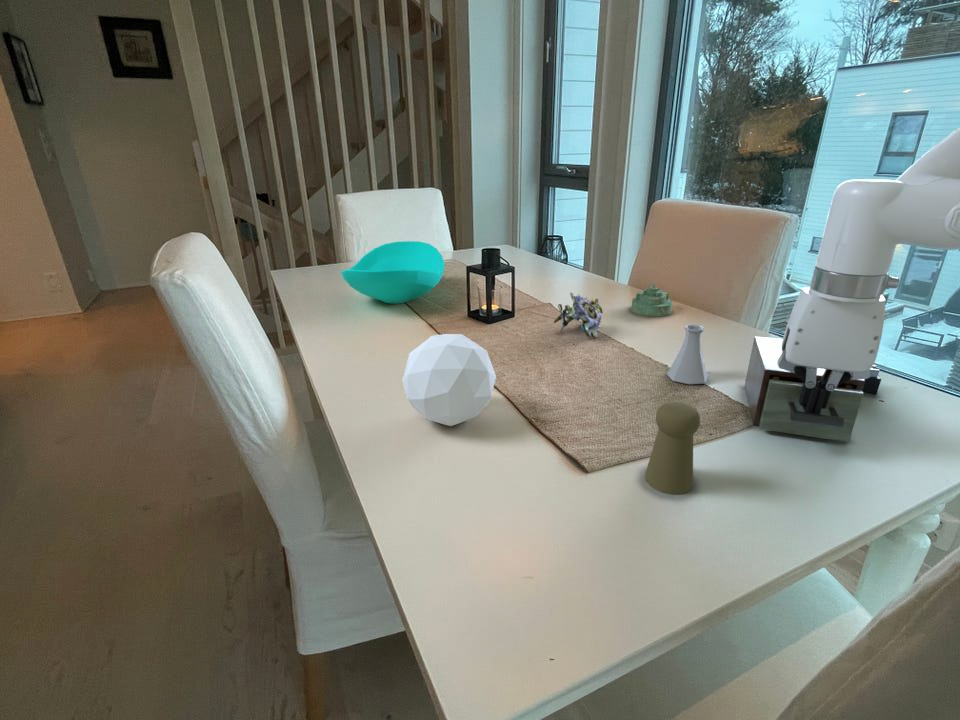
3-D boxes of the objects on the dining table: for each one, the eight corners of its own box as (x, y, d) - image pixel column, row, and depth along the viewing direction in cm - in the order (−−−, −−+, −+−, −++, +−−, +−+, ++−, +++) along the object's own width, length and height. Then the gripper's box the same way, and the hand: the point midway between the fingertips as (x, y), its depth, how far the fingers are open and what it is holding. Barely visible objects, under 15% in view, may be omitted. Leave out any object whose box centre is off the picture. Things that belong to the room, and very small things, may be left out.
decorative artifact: (630, 314, 130) (671, 317, 127) (633, 288, 127) (675, 290, 125) (632, 303, 139) (671, 306, 136) (634, 278, 136) (674, 280, 133)
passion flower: (591, 358, 119) (598, 329, 108) (546, 345, 121) (549, 316, 111) (602, 320, 124) (611, 289, 113) (559, 309, 126) (563, 277, 116)
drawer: (857, 459, 69) (874, 408, 66) (763, 444, 73) (774, 396, 70) (827, 400, 85) (839, 357, 81) (751, 390, 88) (759, 348, 85)
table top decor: (432, 323, 128) (429, 270, 122) (325, 322, 130) (318, 271, 125) (454, 282, 164) (452, 240, 159) (370, 282, 167) (365, 241, 161)
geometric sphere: (442, 433, 89) (439, 350, 93) (515, 424, 81) (510, 334, 85) (383, 428, 78) (383, 333, 81) (461, 416, 70) (458, 312, 73)
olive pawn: (696, 474, 68) (709, 401, 64) (688, 500, 64) (701, 423, 59) (650, 461, 71) (660, 391, 67) (639, 485, 67) (648, 411, 62)
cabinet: (847, 439, 75) (865, 380, 72) (752, 425, 80) (764, 369, 76) (825, 396, 88) (839, 344, 84) (744, 386, 92) (754, 336, 88)
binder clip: (871, 387, 90) (878, 364, 89) (876, 394, 88) (884, 371, 86) (838, 383, 92) (844, 361, 90) (842, 390, 89) (849, 367, 88)
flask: (668, 384, 93) (675, 332, 90) (664, 368, 100) (671, 319, 96) (710, 387, 92) (719, 335, 88) (704, 370, 98) (712, 321, 94)
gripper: (907, 281, 65) (865, 407, 72) (775, 272, 70) (748, 391, 77) (930, 297, 59) (882, 434, 66) (783, 285, 64) (753, 414, 71)
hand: (810, 410), depth 72 cm, fingers closed
